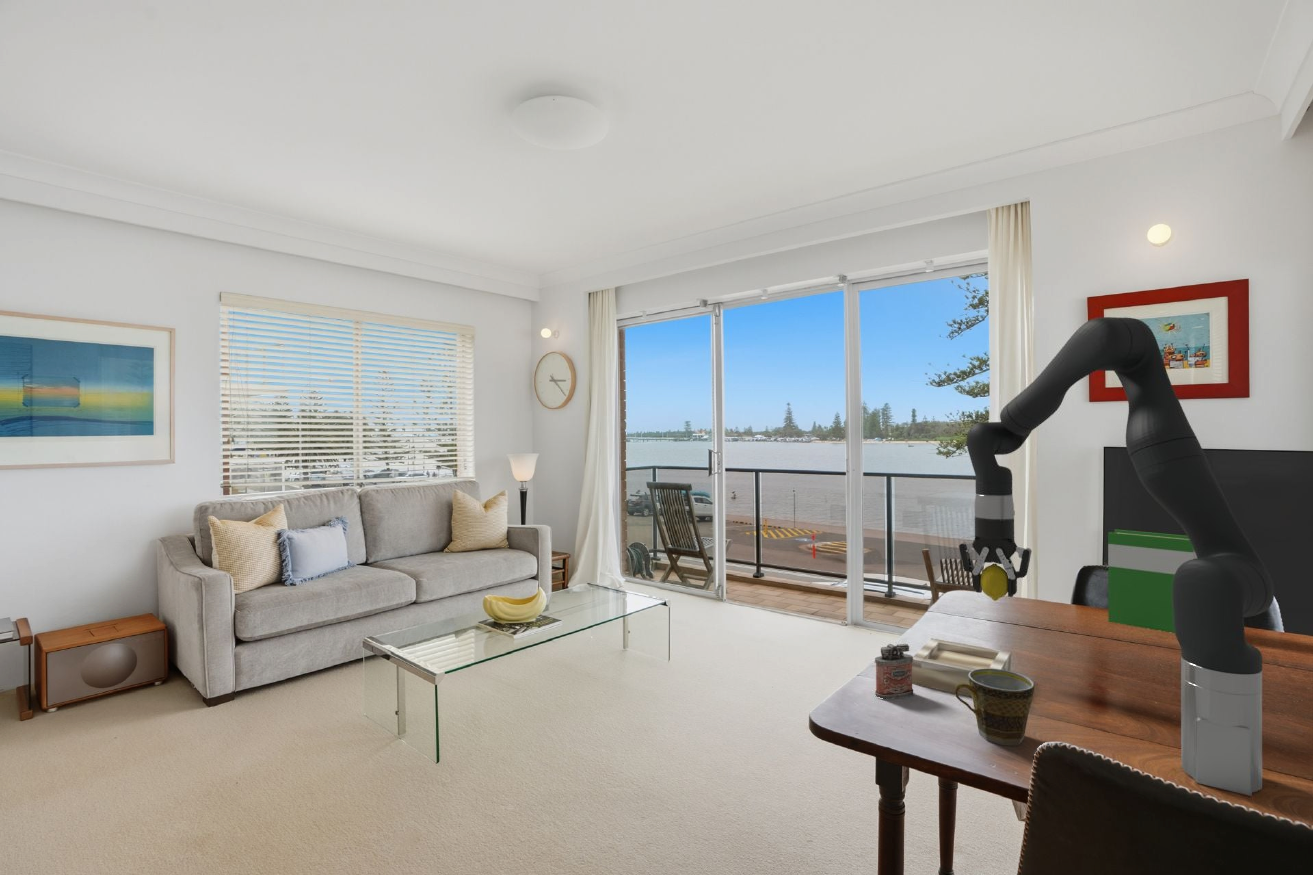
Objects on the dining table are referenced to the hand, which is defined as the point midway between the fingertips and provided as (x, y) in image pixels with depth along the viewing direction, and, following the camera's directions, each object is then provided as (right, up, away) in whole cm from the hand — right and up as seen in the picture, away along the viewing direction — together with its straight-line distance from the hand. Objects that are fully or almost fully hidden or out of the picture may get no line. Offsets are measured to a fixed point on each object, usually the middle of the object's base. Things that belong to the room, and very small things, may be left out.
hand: (994, 593), depth 139 cm
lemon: (0, -2, 0) cm, 2 cm away
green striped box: (+58, -16, +31) cm, 68 cm away
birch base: (-8, -18, -3) cm, 20 cm away
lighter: (-25, -18, -10) cm, 32 cm away
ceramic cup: (-15, -18, -28) cm, 36 cm away
